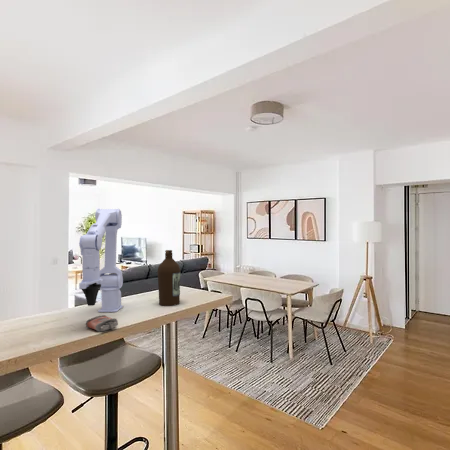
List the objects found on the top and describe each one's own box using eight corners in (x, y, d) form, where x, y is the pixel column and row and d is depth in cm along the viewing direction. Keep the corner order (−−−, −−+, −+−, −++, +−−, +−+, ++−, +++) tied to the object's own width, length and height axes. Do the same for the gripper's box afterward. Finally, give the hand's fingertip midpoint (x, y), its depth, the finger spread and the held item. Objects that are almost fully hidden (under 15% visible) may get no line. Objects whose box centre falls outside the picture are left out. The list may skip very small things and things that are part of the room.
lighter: (105, 313, 119) (121, 317, 113) (106, 322, 119) (121, 327, 113) (85, 320, 113) (100, 325, 106) (85, 329, 113) (100, 335, 107)
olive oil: (153, 305, 145) (152, 251, 145) (165, 300, 155) (164, 249, 155) (174, 307, 142) (173, 251, 142) (184, 301, 152) (184, 249, 152)
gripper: (93, 270, 107) (94, 310, 107) (109, 265, 122) (109, 300, 122) (72, 270, 107) (73, 310, 107) (91, 265, 122) (91, 300, 122)
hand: (91, 305), depth 115 cm, fingers closed
